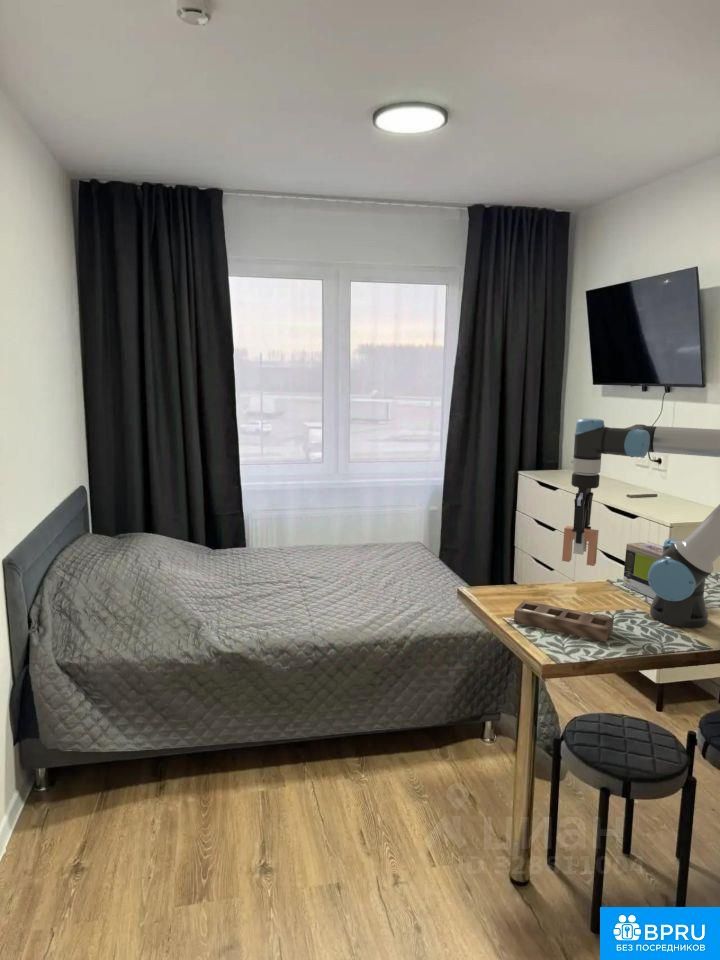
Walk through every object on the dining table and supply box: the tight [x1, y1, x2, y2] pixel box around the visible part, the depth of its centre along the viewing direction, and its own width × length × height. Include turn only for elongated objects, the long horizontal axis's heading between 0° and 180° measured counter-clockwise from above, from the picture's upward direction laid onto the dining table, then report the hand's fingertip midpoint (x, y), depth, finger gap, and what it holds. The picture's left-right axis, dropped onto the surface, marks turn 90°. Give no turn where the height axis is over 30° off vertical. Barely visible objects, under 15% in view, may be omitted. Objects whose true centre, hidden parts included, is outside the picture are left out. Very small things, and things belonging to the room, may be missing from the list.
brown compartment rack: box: [513, 600, 615, 643], centre depth 184 cm, size 25×9×4 cm, turn 59°
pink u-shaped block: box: [561, 525, 599, 567], centre depth 193 cm, size 9×3×10 cm, turn 59°
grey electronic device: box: [622, 541, 664, 599], centre depth 213 cm, size 15×10×15 cm
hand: (579, 552), depth 193 cm, fingers closed on pink u-shaped block, 3 cm apart
